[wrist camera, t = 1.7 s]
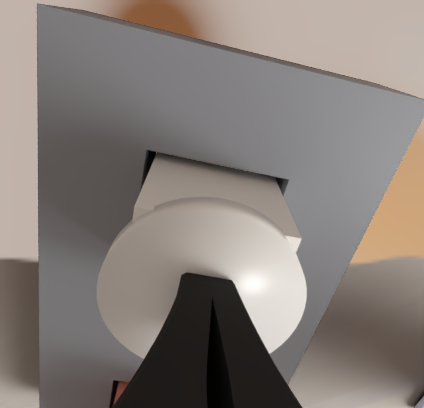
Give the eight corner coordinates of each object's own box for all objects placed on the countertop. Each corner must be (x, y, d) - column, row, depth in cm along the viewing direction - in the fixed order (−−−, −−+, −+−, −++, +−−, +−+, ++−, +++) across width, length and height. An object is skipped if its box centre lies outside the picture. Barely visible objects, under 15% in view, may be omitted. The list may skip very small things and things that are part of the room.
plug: (295, 165, 12) (339, 236, 8) (253, 282, 15) (270, 383, 11) (142, 132, 12) (105, 190, 8) (125, 260, 14) (89, 357, 10)
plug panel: (375, 83, 14) (431, 101, 11) (233, 420, 25) (237, 485, 21) (84, 10, 13) (37, 3, 9) (65, 398, 24) (39, 464, 20)
